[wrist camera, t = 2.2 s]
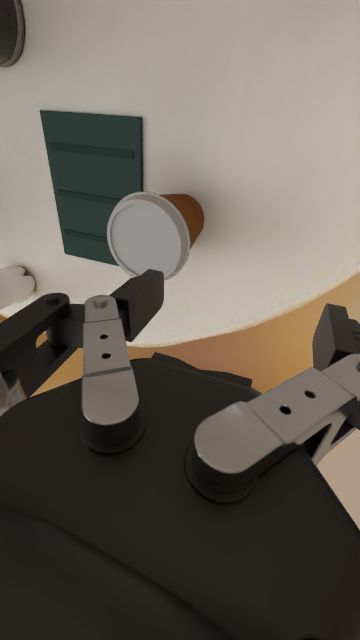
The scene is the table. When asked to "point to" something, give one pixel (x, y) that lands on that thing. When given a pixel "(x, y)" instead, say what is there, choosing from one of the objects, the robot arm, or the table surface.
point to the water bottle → (14, 286)
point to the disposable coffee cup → (154, 232)
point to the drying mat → (91, 175)
